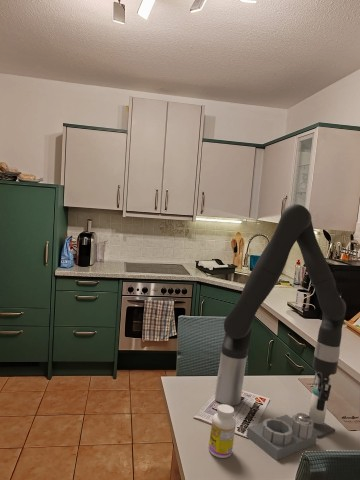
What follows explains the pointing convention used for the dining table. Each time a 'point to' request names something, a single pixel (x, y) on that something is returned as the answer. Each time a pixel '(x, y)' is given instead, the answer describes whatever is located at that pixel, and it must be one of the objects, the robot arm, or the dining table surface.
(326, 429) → the mat
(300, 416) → the plunger
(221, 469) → the dining table surface
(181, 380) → the dining table surface
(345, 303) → the robot arm
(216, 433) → the supplement bottle
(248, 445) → the dining table surface
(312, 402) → the cartridge
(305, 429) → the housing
